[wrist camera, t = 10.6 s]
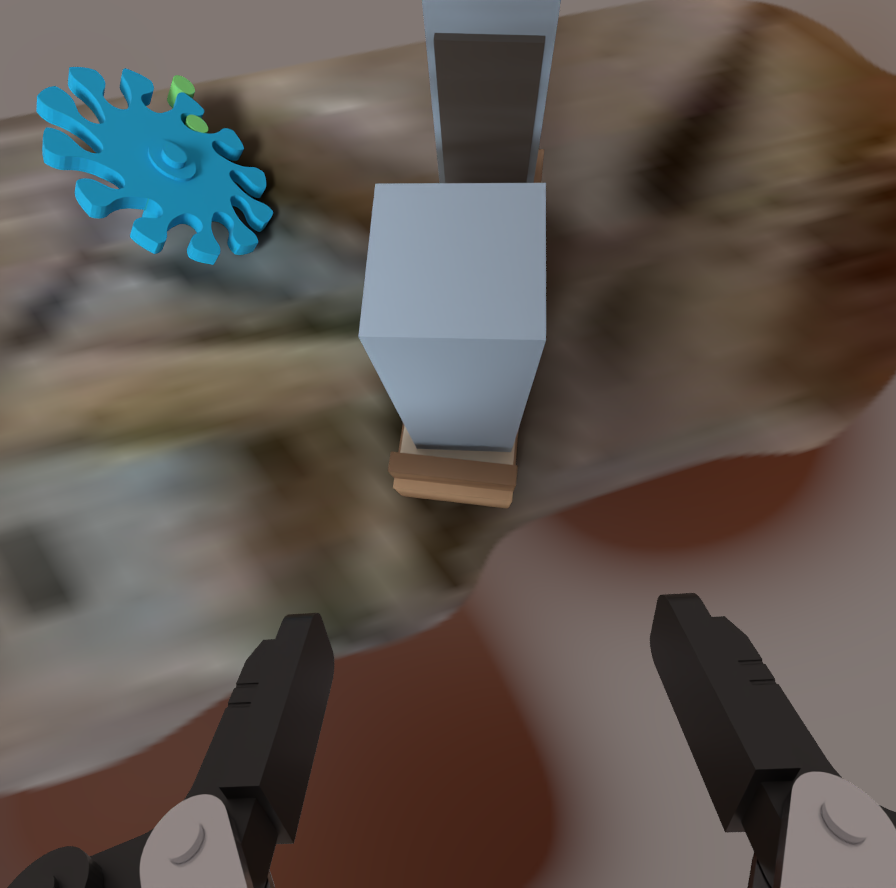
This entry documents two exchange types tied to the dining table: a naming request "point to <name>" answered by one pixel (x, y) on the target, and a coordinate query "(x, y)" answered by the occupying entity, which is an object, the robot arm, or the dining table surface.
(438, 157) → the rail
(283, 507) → the dining table surface
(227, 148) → the gear
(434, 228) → the light grey block
